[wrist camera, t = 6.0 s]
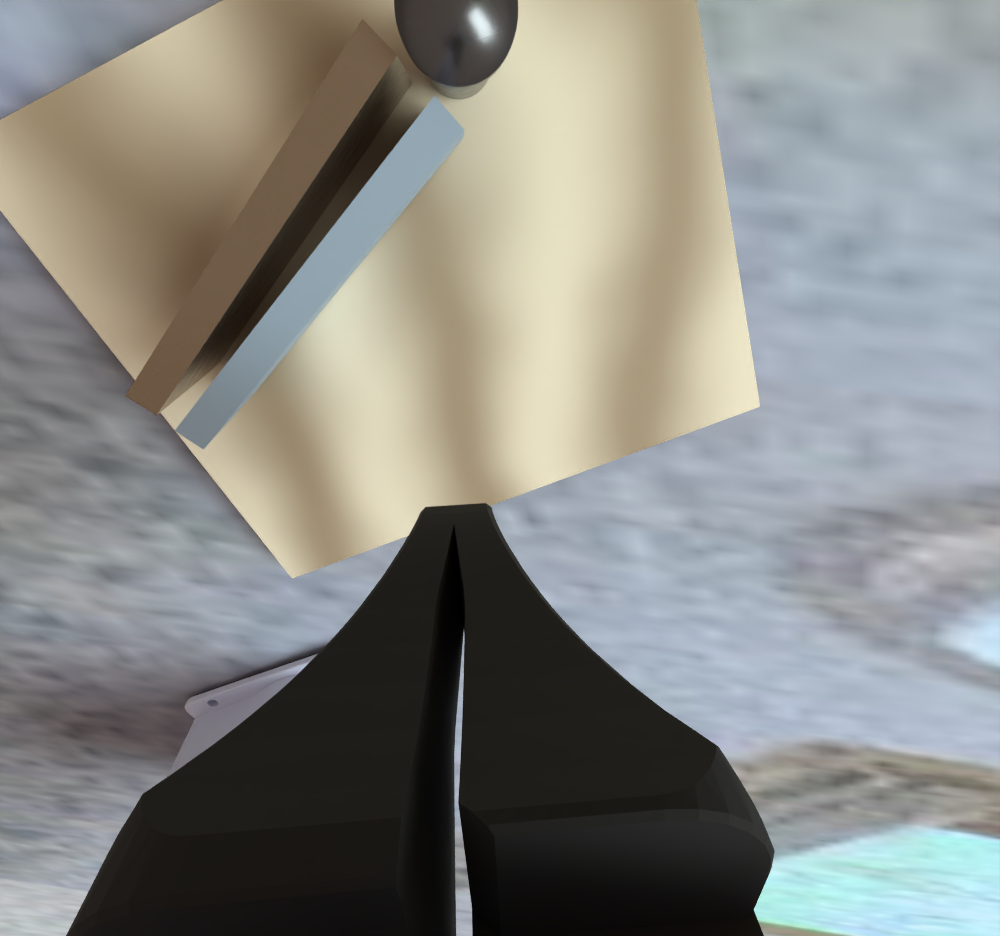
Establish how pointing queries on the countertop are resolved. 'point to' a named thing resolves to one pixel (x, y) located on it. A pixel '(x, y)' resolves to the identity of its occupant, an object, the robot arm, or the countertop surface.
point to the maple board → (412, 257)
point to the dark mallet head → (321, 173)
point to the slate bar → (326, 269)
